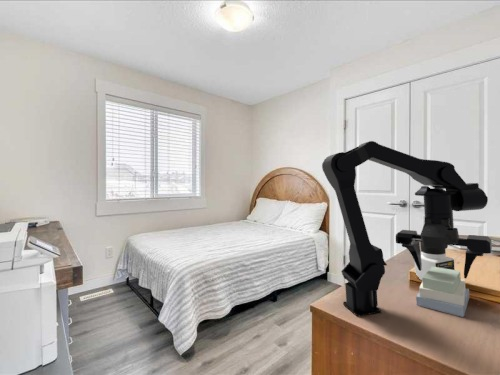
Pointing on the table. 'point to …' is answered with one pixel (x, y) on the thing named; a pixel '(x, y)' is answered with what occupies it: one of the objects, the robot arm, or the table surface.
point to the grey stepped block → (444, 299)
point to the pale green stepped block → (441, 279)
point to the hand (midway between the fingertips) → (441, 273)
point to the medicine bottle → (433, 260)
